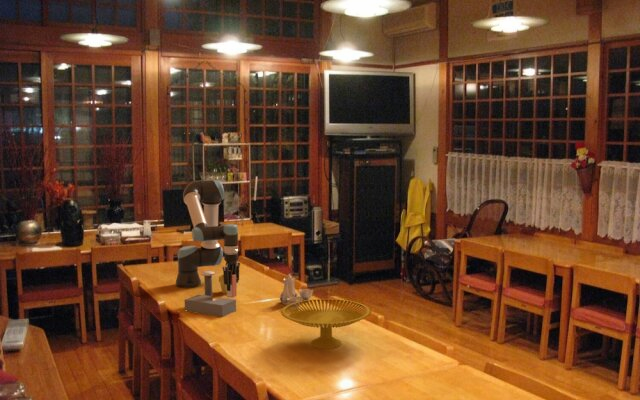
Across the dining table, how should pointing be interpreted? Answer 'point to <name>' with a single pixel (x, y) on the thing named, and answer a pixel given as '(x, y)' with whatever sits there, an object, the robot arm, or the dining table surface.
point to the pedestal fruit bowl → (325, 318)
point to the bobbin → (208, 282)
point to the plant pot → (223, 286)
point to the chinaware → (293, 293)
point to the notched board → (210, 305)
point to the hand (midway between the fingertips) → (231, 295)
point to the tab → (233, 285)
